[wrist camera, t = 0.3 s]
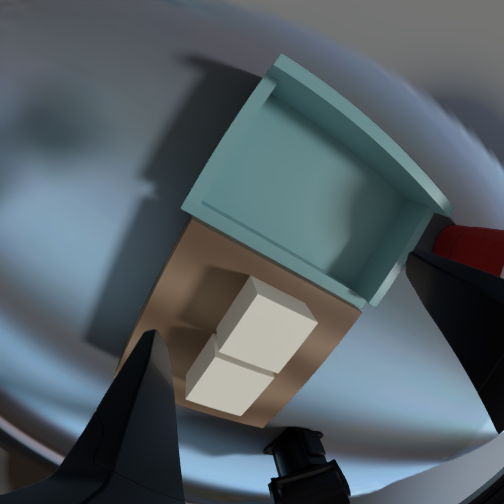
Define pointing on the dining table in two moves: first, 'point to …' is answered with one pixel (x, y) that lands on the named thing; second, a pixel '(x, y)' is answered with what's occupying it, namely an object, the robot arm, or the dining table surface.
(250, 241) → the box
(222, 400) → the tile
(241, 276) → the walnut plate
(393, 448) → the dining table surface
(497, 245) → the plastic cup
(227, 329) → the tile
